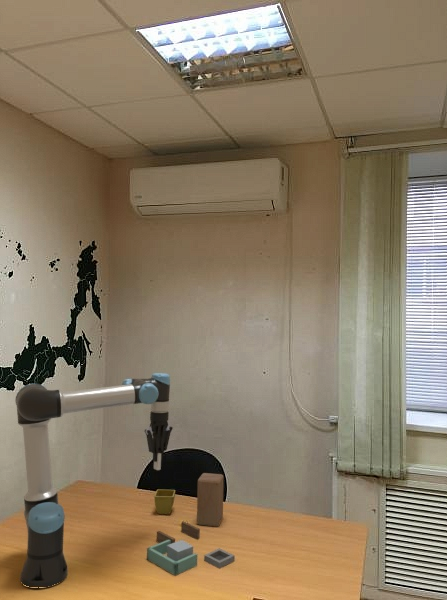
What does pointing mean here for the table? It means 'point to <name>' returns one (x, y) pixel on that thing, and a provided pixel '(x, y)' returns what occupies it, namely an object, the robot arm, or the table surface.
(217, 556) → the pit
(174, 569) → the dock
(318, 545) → the table surface
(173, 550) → the block
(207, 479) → the wooden block
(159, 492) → the flower pot
